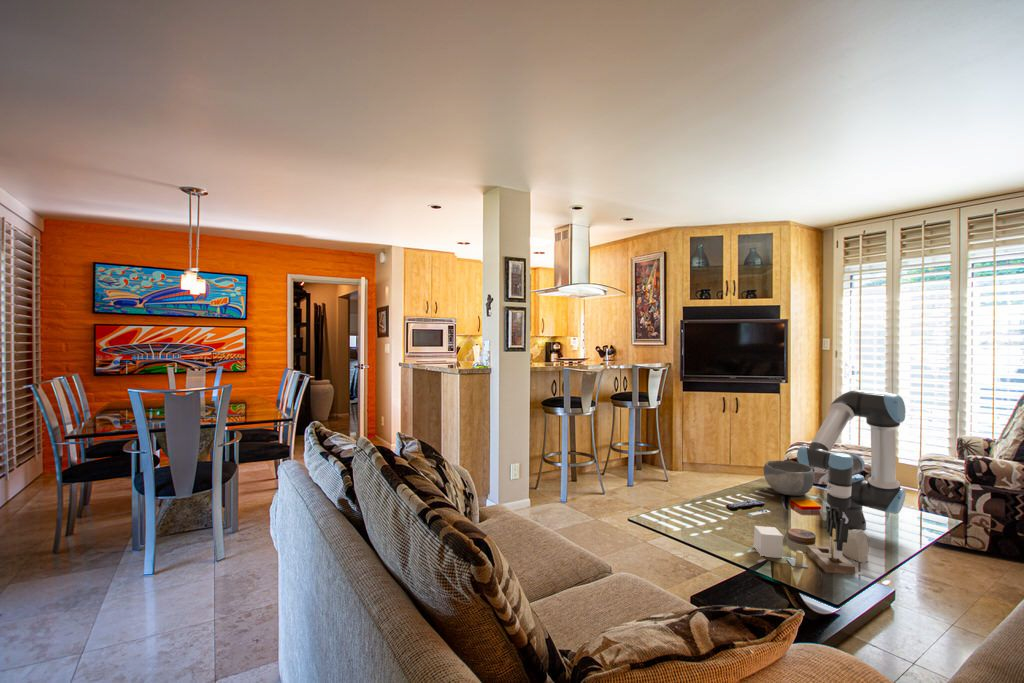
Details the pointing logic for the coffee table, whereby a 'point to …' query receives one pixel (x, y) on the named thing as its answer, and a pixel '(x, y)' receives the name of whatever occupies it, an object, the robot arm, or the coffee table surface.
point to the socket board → (829, 561)
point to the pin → (833, 545)
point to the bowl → (789, 477)
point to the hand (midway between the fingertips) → (835, 555)
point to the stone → (856, 546)
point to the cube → (768, 541)
